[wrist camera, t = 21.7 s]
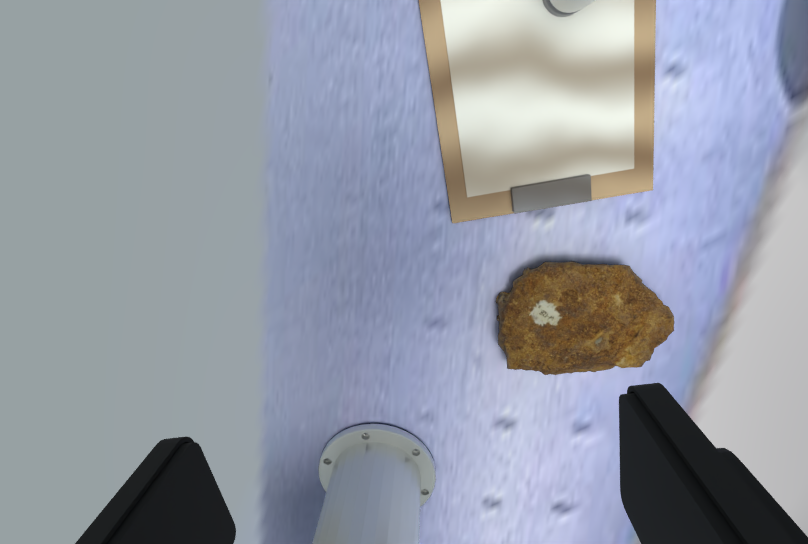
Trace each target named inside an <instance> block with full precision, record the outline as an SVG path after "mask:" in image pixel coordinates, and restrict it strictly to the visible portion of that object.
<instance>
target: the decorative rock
mask: <svg viewBox="0 0 808 544" xmlns="http://www.w3.org/2000/svg"><path fill="white" fill-rule="evenodd" d="M496 303H497V304H498V312H499V315H498V316H497V320H498V321H499V334H498V345H499V346H500V347H501V348H502V350H503V351H504V353H505V355H506V357H507V368H508V369H515V370H516V369H523V370H534V371H540V372H542V373H543V374H544V375H548V374H553V375H556V374H562V373H573V372H587V371H591V372H596V371H601V370H607V369H611V368H613V367H614V366H618V367H621V368H627V367H642V365H643V364H644V362H645V361H648V360H650V358H651V355H652V354H653V352H654V348H655V347H657V346H659V345H660V344H662V343H663V342H664V341H665V340H667V337H668V336H669V335H670V334H671V333H672V332H673V331H674V316H673V314H672V312H671V310H670V309H669V307H668V306H665V305H663V303H662V301H661V300H660V299H658V297H657V296H656V294H655V293H654V292H653V291H651V290H650V289H648V288H647V287H646V286H645V285H644V284H642V279H640V278H639V277H638V276H637V275H636V274H635V273H634V272H633V271H632V269H631V268H630V266H627V265H607V264H598V265H591V264H586V265H583V264H580V263H576V262H572V261H571V262H544V263H543V264H542V265H540V266H539V267H538V268H535V269H532V270H530V269H529V268H528V267H527V269H524V271H523V275H522V276H520V277H519V278H517V279H515V280H514V281H513V288H512V290H511V292H510V293H506V292H500V293H499V295H498V296H497V298H496Z"/></svg>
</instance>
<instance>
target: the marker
mask: <svg viewBox="0 0 808 544" xmlns="http://www.w3.org/2000/svg"><path fill="white" fill-rule="evenodd" d="M594 1H595V0H543V4H544V6H545V8H546V9H547V10H548V11H549V12H550V13H551V14H552V15H554V16H557V17H567V16H570V15H573V14H574V13H576V12H578V11H579V10H581V9H582V8H584V7H586V6H587V5H589V4H590V3H592V2H594Z"/></svg>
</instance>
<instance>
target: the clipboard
mask: <svg viewBox="0 0 808 544" xmlns="http://www.w3.org/2000/svg"><path fill="white" fill-rule="evenodd" d="M419 6H420V13H421V20H422V26H423V33H424V39H425V46H426V53H427V59H428V66H429V72H430V79H431V86H432V92H433V99H434V105H435V112H436V119H437V125H438V132H439V138H440V145H441V152H442V158H443V165H444V171H445V178H446V185H447V191H448V198H449V204H450V211H451V217H452V223H458V222H464V221H470V220H476V219H482V218H488V217H494V216H500V215H506V214H512V213H514V214H515V213H521V212H527V211H533V210H539V209H545V208H551V207H557V206H563V205H569V204H575V203H581V202H587V201H592V200H596V199H602V198H608V197H614V196H620V195H626V194H632V193H638V192H644V191H650V190H653V151H654V85H655V19H656V0H595V1H594V2H592V3H590V4H589V5H587V6H586V7H584V8H582V9H581V10H579V11H578V12H576V13H574V14H573V15H570V16H567V17H557V16H554V15H552V14H551V13H550V12H549V11H548V10H547V9H546V8H545V6H544V4H543V0H419Z"/></svg>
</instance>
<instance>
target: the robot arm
mask: <svg viewBox="0 0 808 544" xmlns="http://www.w3.org/2000/svg"><path fill="white" fill-rule="evenodd" d="M619 429H620V491H621V498H622V502H623V505H624V508H625V511H626V513H627V515H628V517H629V519H630V521H631V523H632V525H633V527H634V529H635V531H636V534H637V536H638V538H639V540H640V542H641V544H808V537H807V536H806V535H805V534H804V533H803V531H802V530H801V529H800V528H799V527H798V526H797V524H796V523H795V522H794V521H793V520H792V519H791V518H790V516H788V514H787V513H786V512H785V511H784V510H783V509H782V507H781V506H780V505H779V504H778V503H777V502H776V501H775V500H774V498H773V497H772V496H771V495H770V494H769V493H768V492H767V490H766V489H765V488H764V487H763V486H762V485H761V484H760V483H759V481H758V480H757V479H756V478H755V477H754V476H753V475H752V473H751V472H750V471H749V470H748V469H747V468H746V467H745V465H744V464H743V463H742V462H741V461H740V460H739V459H738V458H737V457H736V456H735V455H734V454H733V453H732V452H731V451H729V450H727V449H725V448H717V449H716V448H715V447H714V445H713V444H712V443H711V442H710V441H709V440H708V438H707V437H706V436H705V435H704V434H703V432H702V431H701V430H700V429H699V428H698V426H697V425H696V424H695V423H694V422H693V420H692V419H691V418H690V417H689V416H688V414H687V413H686V412H685V411H684V410H683V409H682V407H681V406H680V405H679V404H678V403H677V401H676V400H675V399H674V398H673V397H672V395H671V394H670V393H669V392H668V391H667V389H666V388H665V387H664V386H663V385H662V384H660V383H653V384H644V385H635V386H630V387H628V390H627V394H622V395H620V397H619ZM319 478H320V481H321V484H322V487H323V488H324V490H325V492H326V495H325V499H324V502H323V506H322V510H321V513H320V517H319V520H318V524H317V528H316V531H315V535H314V539H313V542H312V544H419V531H420V507H421V506H422V505H423V504H424V503H425V502H426V501H427V500H428V499H429V497H430V496H431V494H432V492H433V489H434V486H435V480H436V476H435V465H434V460H433V458H432V456H431V454H430V452H429V451H428V449H427V448H426V447H425V445H424V444H423V443H422V442H421V441H419V440H418V439H417V438H416V437H415V436H413V435H411V434H410V433H408V432H406V431H404V430H401V429H399V428H397V427H393V426H389V425H383V424H362V425H358V426H354V427H351V428H348V429H346V430H344V431H342V432H340V433H339V434H337V435H336V436H334V437H333V438H332V439H331V440H330V441H329V442H328V443H327V445H326V447H325V449H324V450H323V453H322V456H321V459H320V463H319ZM235 535H236V528H235V524H234V521H233V519H232V517H231V515H230V513H229V510H228V508H227V506H226V503H225V501H224V499H223V497H222V495H221V492H220V490H219V488H218V485H217V483H216V481H215V479H214V476H213V474H212V472H211V470H210V467H209V465H208V463H207V461H206V458H205V456H204V454H203V452H202V449H201V447H200V446H199V444H197V443H195V442H194V441H193V440H192V439H191V438H190V437H179V438H170V439H164V440H161V441H160V442H159V443H158V444H157V445H156V446H155V447H154V448H153V450H152V451H151V452H150V453H149V454H148V456H147V457H146V458H145V459H144V461H143V462H142V463H141V464H140V465H139V467H138V468H137V469H136V470H135V472H134V473H133V474H132V475H131V477H130V478H129V479H128V480H127V481H126V483H125V484H124V485H123V486H122V487H121V488H120V490H119V491H118V492H117V493H116V495H115V496H114V497H113V498H112V499H111V501H110V502H109V503H108V504H107V506H106V507H105V508H104V509H103V510H102V512H101V513H100V514H99V515H98V517H97V518H96V519H95V520H94V521H93V523H92V524H91V525H90V526H89V527H88V529H87V530H86V531H85V532H84V534H83V535H82V536H81V537H80V539H79V540H78V541H77V542H76V543H75V544H233V543H234V540H235Z"/></svg>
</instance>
